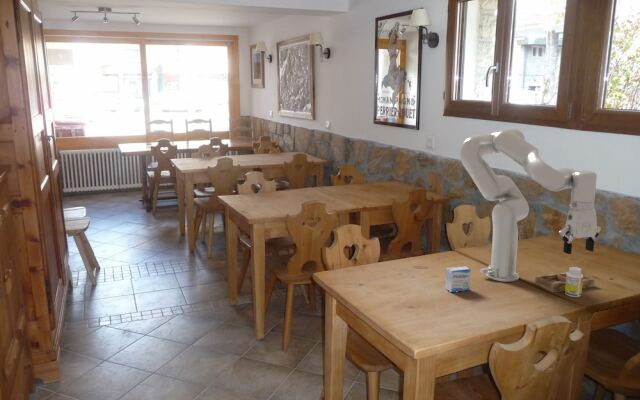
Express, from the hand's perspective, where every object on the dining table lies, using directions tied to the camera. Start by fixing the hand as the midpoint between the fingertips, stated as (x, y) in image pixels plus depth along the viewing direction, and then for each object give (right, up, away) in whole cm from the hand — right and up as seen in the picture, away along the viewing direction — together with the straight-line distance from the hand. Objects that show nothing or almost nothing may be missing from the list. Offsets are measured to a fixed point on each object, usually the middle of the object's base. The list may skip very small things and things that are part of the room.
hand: (578, 251), depth 186 cm
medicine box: (-41, -16, +9) cm, 45 cm away
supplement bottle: (0, -17, +4) cm, 17 cm away
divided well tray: (+1, -14, +13) cm, 20 cm away
